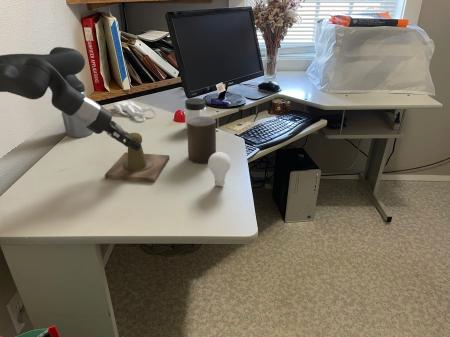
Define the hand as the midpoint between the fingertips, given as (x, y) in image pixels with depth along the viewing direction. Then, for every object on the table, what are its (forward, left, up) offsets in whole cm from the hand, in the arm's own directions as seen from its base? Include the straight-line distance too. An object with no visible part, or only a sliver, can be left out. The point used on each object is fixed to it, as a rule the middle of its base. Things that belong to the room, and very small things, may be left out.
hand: (134, 143), depth 108 cm
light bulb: (+28, -6, -10) cm, 30 cm away
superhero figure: (-23, +52, -10) cm, 57 cm away
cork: (0, 0, -8) cm, 8 cm away
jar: (+11, +38, -10) cm, 40 cm away
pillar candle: (+19, +12, -10) cm, 24 cm away
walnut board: (0, +1, -9) cm, 9 cm away
